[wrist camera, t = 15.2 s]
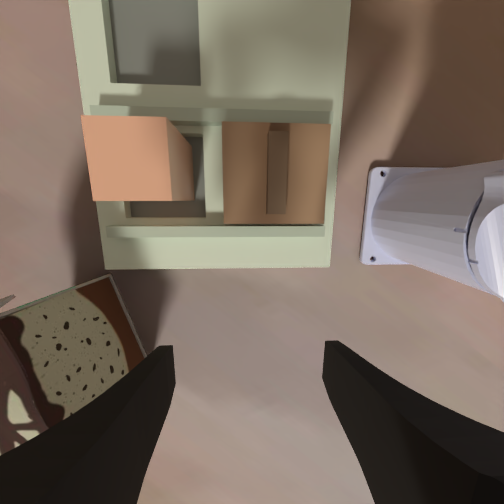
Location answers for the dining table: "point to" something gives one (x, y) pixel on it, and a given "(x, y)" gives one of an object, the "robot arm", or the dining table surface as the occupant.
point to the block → (137, 159)
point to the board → (212, 114)
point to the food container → (61, 356)
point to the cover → (274, 172)
